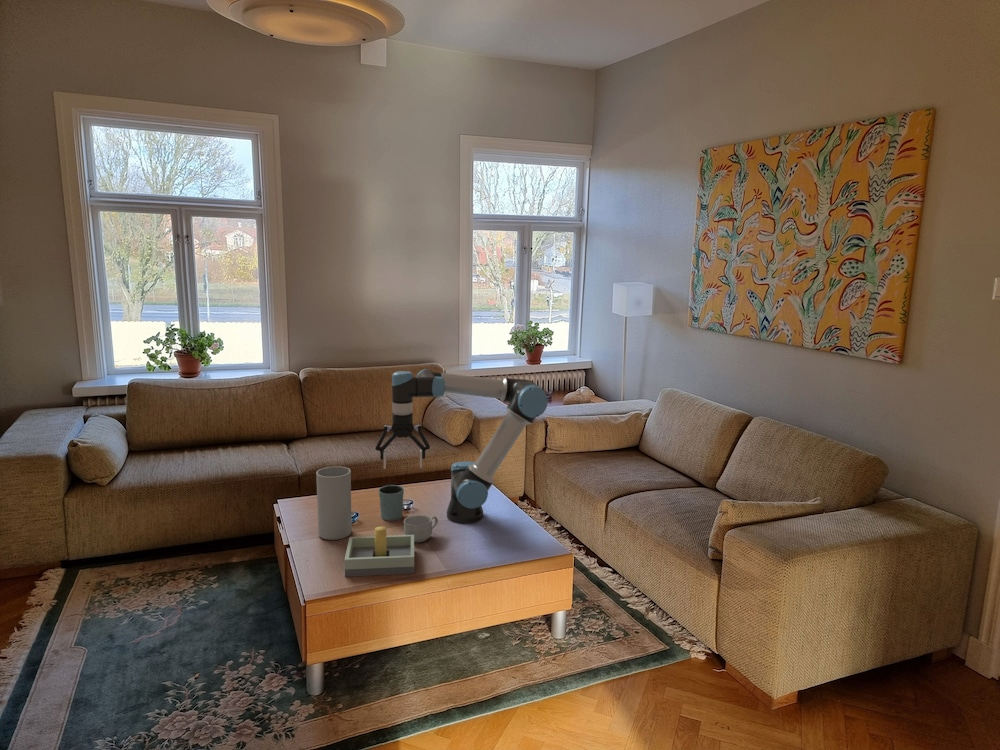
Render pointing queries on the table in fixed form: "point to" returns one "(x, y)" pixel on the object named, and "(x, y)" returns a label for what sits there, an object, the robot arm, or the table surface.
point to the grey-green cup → (391, 502)
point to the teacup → (419, 527)
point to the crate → (365, 562)
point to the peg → (380, 542)
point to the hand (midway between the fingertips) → (402, 467)
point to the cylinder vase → (334, 502)
